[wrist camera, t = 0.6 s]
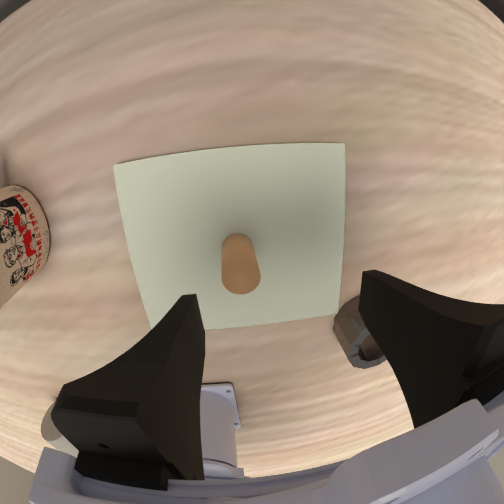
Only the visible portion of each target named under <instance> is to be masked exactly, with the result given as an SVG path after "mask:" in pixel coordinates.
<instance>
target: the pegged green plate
mask: <svg viewBox="0 0 504 504" xmlns="http://www.w3.org/2000/svg"><path fill="white" fill-rule="evenodd" d="M113 169H114V176H115V182H116V189H117V195H118V201H119V206H120V212H121V217H122V222H123V227H124V231H125V236H126V240H127V245H128V249H129V253H130V257H131V261H132V265H133V269H134V273H135V277H136V280H137V284H138V288H139V291H140V294H141V298H142V301H143V305H144V308H145V311H146V314H147V317H148V320H149V323H150V326H151V329H153V328H154V326H155V325H156V324H157V323H158V322H159V321H160V320H161V319H162V318H163V317H164V316H165V315H166V313H167V312H168V311H169V310H170V309H171V307H172V306H173V305H174V304H175V303H176V301H177V300H178V299H179V298H180V297H181V296H182V295H188V294H197V299H198V304H199V308H200V313H201V317H202V322H203V326H204V330H214V329H226V328H236V327H246V326H255V325H263V324H271V323H279V322H287V321H294V320H301V319H307V318H314V317H320V316H326V315H332V314H338V306H339V296H340V286H341V275H342V262H343V246H344V226H345V143H286V144H264V145H248V146H236V147H225V148H215V149H206V150H198V151H190V152H183V153H176V154H169V155H163V156H157V157H151V158H146V159H140V160H135V161H130V162H125V163H120V164H116V165H113Z"/></svg>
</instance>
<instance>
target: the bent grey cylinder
mask: <svg viewBox="0 0 504 504" xmlns="http://www.w3.org/2000/svg"><path fill="white" fill-rule="evenodd" d="M55 402H56V401H55ZM55 402H54V403H53V404H52V405H51V406H50V407H49V409H48V410H47V412H46V414H45V416H44V418H43V421H42V424H41V434H42V437H43V438H44V439H45V440H46V441H47V442H49V443H50V444H51V445H53V446H54V447H55V448H57V449H58V450H59V451H61V452H65V453H67V454H70V455H72V456H74V457H76V458H77V456H78V452H79V451H78V450H77V449H76V448H75V447H74V446H73V445H72V444H71V443H70V442H69V441H68V440H67V439H66V438H65V437H64V436H63V435H62V434H61V433H60V432H59V431H58V429H57V428H56V427H55V426H54V424H53V421H52V419H51V411H52V409H53V407H54V404H55Z"/></svg>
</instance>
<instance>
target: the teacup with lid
mask: <svg viewBox="0 0 504 504" xmlns="http://www.w3.org/2000/svg"><path fill="white" fill-rule="evenodd" d="M49 244H50V241H49V230H48V225H47V221H46V218H45V215H44V213H43V211H42V209H41V207H40V205H39V203H38V202H37V200H36V199H35V198H34V196H33V195H32V194H31V193H30V192H28V191H27V190H26V189H24V188H22V187H19V186H15V185H11V186H7V187H4V188H1V189H0V309H1V308H2V307H3V306H4V305H5V304H6V303H7V302H8V301H9V300H10V299H11V298H12V297H13V296H14V295H15V294H16V293H17V292H18V291H19V290H20V289H21V288H22V287H23V286H24V285H25V284H26V283H27V282H28V281H29V280H30V279H31V278H32V277H33V276H35V275H36V274H37V273H38V272H39V271H40V270H41V269H42V268H43V266H44V264H45V263H46V260H47V257H48V253H49Z"/></svg>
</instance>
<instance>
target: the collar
mask: <svg viewBox="0 0 504 504" xmlns="http://www.w3.org/2000/svg"><path fill="white" fill-rule="evenodd" d="M359 299H360V296H357V297H355V298H354V299H352V300H351V301H349V302H348V303H346V304H345V305H343V307H342V308H341V310H340V311H339V312H338V314H337V315H336V317H335V319H334V328H333V331H334V333H335V335H336V337H337V339H338V341H339V343H340V344H341V346H342V348H343V350H344V352H345V354H346V356H347V358H348V360H349V361H350V363H351V364H352V366H353V367H358V368H363V369H366V368H369V367H373V366H377V365H379V364H381V363H382V362H384V361H385V360H387V358H386V357H385V355H384V354H383V352H382V351H381V349H380V348H379V346H378V345H377V343H376V342H375V340H374V339H373V337H372V335H371V334H370V332H369V331H368V329H367V328H366V326H365V324H364V322H363V320H362V317H361V315H360V313H359V311H358V307H359Z"/></svg>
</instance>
